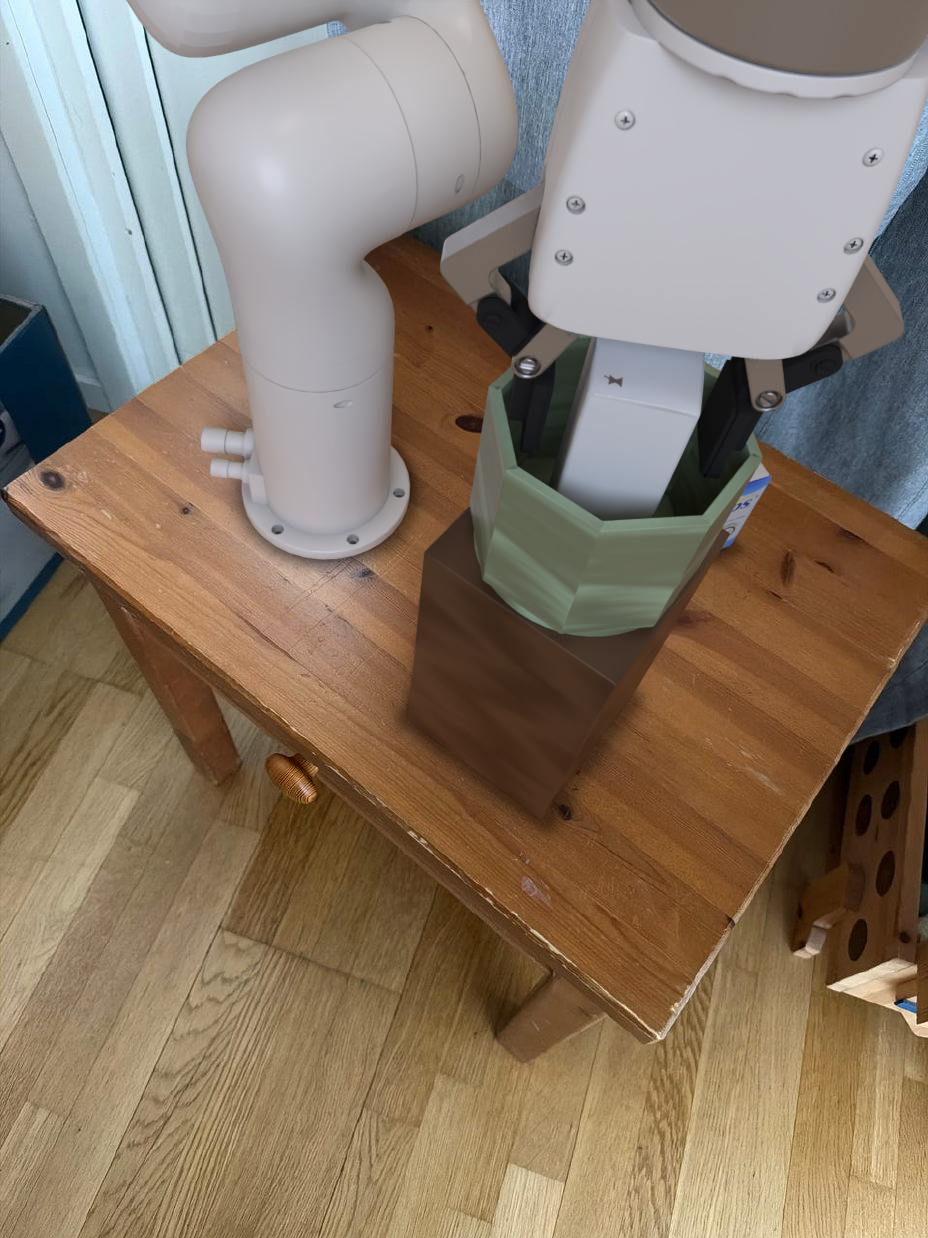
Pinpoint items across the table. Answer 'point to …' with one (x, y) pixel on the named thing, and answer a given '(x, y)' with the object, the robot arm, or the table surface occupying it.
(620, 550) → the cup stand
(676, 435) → the cosmetic box
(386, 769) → the table surface
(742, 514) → the medicine box
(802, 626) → the table surface
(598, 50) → the robot arm
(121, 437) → the table surface
